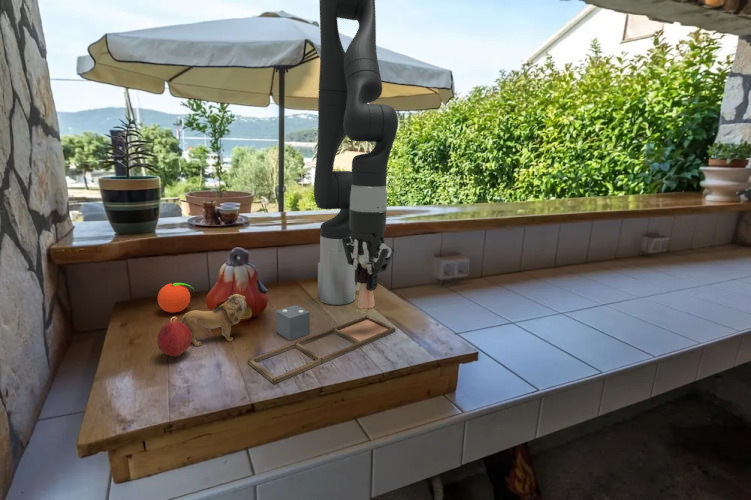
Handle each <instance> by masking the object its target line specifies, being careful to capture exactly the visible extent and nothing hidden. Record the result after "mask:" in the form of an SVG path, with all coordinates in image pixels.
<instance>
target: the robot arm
mask: <svg viewBox="0 0 751 500" xmlns="http://www.w3.org/2000/svg"><path fill="white" fill-rule="evenodd" d="M318 2H319V31H320V32H319V33H320V35H319V36H320V55H319V57H320V59H319V61H320V62H319V77H318V78H319V80H318V81H319V82H318V98H317V99H318V102H317V103H318V104H317V105H318V106H317V107H318V108H317V109H318V110H317V111H318V113H317V114H318V115H317V119H318V121H317V122H318V123H317V124H318V126H317V129H318V130H317V148H316V149H317V150H316V160H315V170H314V181H313V198H314V202H315V205H316V206H317V208H318V209H321V210H339V212H338V213H337V214H336V215H335V216H334V217H332V218H330V219H328V220H325V221H324V222H322V223H321V224H320V228H319V229H320V231H319V233H320V236H319V237H320V239H319V240H320V241H319V242H320V245H319V250H320V251H319V254H320V256H319V261H318V262H317V297H319V300H320V301H321V302H322V303H323V304H327V305H335V306H340V305H341V306H342V305H347V304H350V303H353V302H354V301H355V300H356V290H355V288H356V284H357V280H358V278H359V275H360V271H361V270H362V269H363V267H362V266H361V264H360V262H359V260H358V259H359V257H360V256H361V255H364V257H365V263H367V270H368V274H367V290H368V291H372V290H373V291H375V290H376V288H378V280H379V279H378V276H379V274H380V273H384V272H386V271H387V269H388V267H389V264H390V262H391V260H392V257H393V256H394V253H395V248H394V247H393V246H391V247H389V246H388V245H387V244H385V239H384V233H385V231H386V229H387V208H388V207H387V206H388V194H387V193H388V192H387V179H388V178H387V176H388V175H387V174H388V163H389V160H390V155H391V150H392V148H393V145H394V141H395V140H396V137H397V136H396V135H397V132H398V127H399V118H398V114H397V111H396V110H395V108H394V107H393V106H391V105H389V104H380V103H379V104H378V103H376V104H375V103H373V102H374V101H377V100H378V99H379V98H380V97H381V95H382V93H383V83H382V82H383V81H382V76H381V72H380V67H379V61H378V55H377V54H378V53H377V31H376V30H377V29H376V28H377V26H376V25H377V23H376V22H377V19H376V18H377V17H376V0H319V1H318ZM338 19H343V20H350V21H357V22H358V29H357V30H356V33H355V35H354V36H353V38H352V39H351V41H350V42H349V45H348V47H347V49H346V51H345V49H344V47H343V44H342V40H341V38H340V32H339V26H338ZM346 136H347V137H348V139H350V140H351V141H354V142H370V143H375V145H374V147H373V149H372V150H371V151H370V152H366V153H361V154H357V155H355V156H354V157H353V158H352V160H351V170H334V166H335V165H334V164H335V161H336V156H337V152H338V151H339V149H340V146H341V145H342V143H343V141H344V140H345V138H346ZM370 257H374V258H370Z"/></svg>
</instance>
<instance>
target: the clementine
mask: <svg viewBox="0 0 751 500" xmlns="http://www.w3.org/2000/svg"><path fill="white" fill-rule="evenodd" d="M186 286H187V287H186ZM188 287H190V288H191V289H192V290H193V291H195V289H194V288H193V287H192V285H189V284H187V283H183V282H171V283H170V282H169V283H168V284H166V285H164V286H163V287H161V289H160V290H159V291H158V295H157V303H158V306H159V307H160V309H162V310H163V311H165V312H167V313H172V314H174V313H180V312H182V311H184V310H185V309H186V308H187V307H188V305H190V301H191V292H190V291H189V289H188Z"/></svg>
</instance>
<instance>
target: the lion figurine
mask: <svg viewBox="0 0 751 500" xmlns="http://www.w3.org/2000/svg"><path fill="white" fill-rule="evenodd" d="M246 310H247V301H246V296H244V295H242V294H239V293H234V294H232V295H230V296H228V298H227V300H226V301H224V303H222V304H220V305H219V306H218V307H217V308H215V309H213V310H204V311H203V310H197V309H195V310H191V311H188V312H186V313H185V314H184V315H183V316H182V317H181V319H180V321H179V322H182V323H184V324H185V325H186V326H187V327H188V328H189V329H190V331H191V333H192V341H191V343H192V344H193V345H194V347H195V346H196V347H199V346H202V342H201V341H198V340H197V338H196V335H197V332H198V329H199V326H200V327H203V328H205V329H217V328H221V335H222V336H223V337H225V340H226V341H228V342H233V340H234V337H233V336H231V331H232V326H234V325H237V324H239V322H241V319H242V318H243V316H244V315H245V313H246V312H247V311H246Z"/></svg>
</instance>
